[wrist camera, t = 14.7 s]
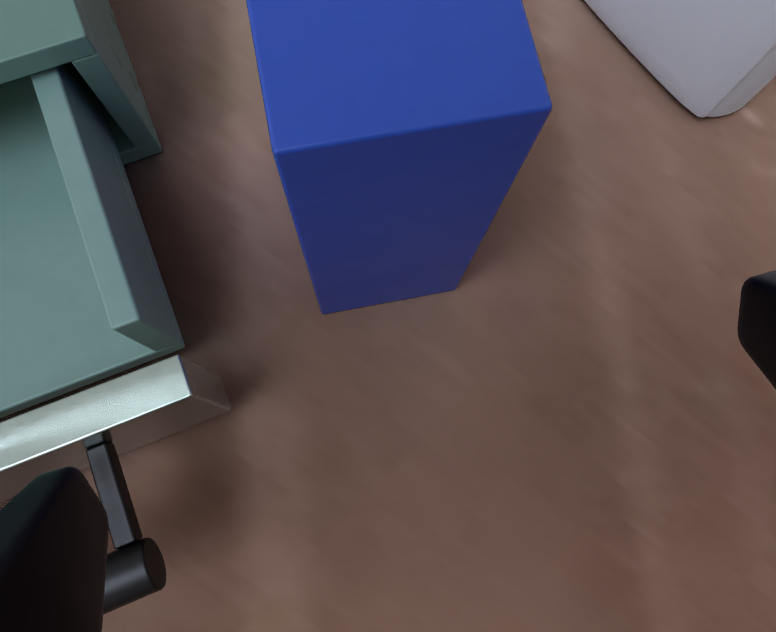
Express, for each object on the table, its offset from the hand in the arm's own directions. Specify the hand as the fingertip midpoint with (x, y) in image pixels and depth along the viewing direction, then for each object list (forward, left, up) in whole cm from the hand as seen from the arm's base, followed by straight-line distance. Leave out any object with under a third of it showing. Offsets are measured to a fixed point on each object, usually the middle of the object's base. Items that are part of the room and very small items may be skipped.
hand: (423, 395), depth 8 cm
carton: (+8, +1, -13) cm, 16 cm away
